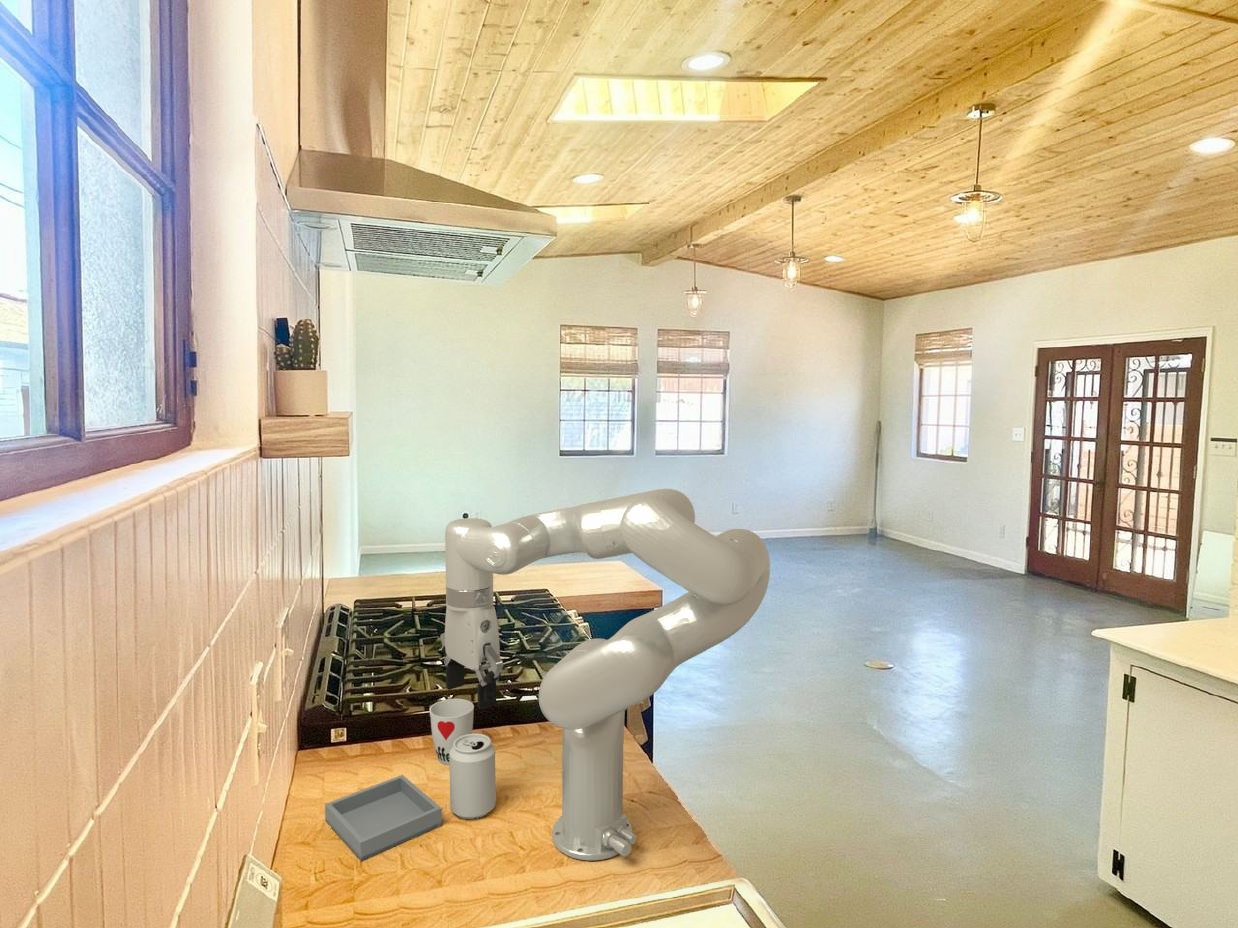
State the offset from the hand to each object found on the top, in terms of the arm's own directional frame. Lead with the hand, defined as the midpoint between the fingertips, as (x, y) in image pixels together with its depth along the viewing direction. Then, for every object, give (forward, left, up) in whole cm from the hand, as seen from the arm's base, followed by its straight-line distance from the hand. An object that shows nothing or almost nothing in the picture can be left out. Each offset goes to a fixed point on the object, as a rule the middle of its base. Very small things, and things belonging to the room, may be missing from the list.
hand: (470, 696), depth 123 cm
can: (0, 0, -20) cm, 20 cm away
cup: (+17, -6, -20) cm, 27 cm away
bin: (+6, +13, -20) cm, 24 cm away
